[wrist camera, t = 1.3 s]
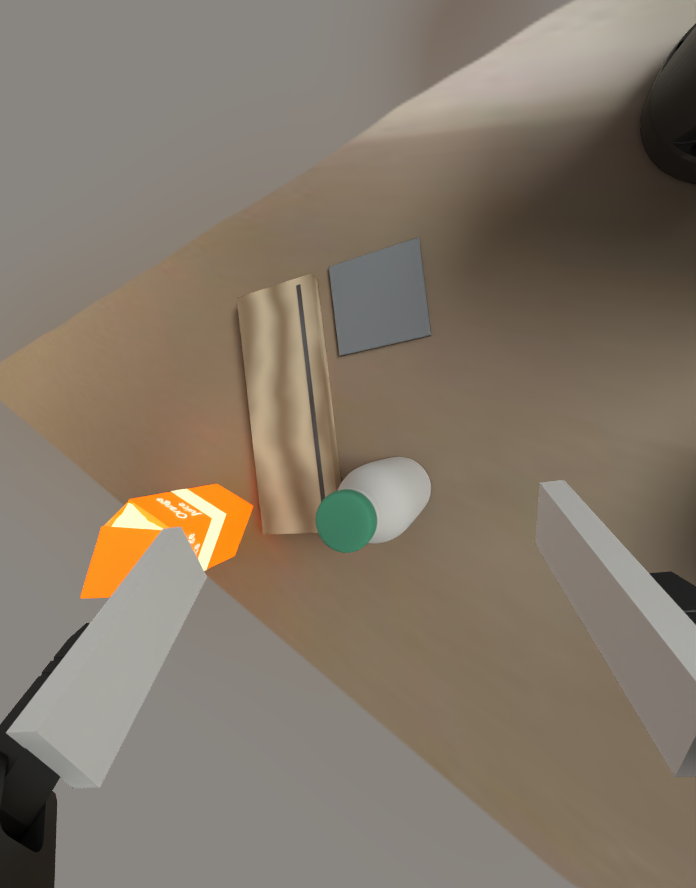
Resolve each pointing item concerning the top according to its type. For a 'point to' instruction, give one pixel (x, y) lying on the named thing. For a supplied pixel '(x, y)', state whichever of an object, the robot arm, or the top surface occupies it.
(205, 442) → the top surface
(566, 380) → the top surface
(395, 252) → the plate
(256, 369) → the oak board
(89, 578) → the orange juice
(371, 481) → the milk bottle
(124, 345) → the top surface
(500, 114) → the top surface
